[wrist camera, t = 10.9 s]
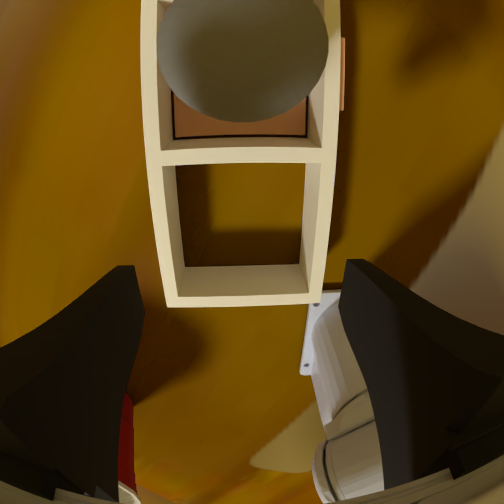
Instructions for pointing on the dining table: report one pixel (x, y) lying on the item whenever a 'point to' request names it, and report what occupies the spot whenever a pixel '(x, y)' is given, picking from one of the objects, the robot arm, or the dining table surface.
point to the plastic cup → (127, 456)
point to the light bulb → (242, 55)
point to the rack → (241, 151)
